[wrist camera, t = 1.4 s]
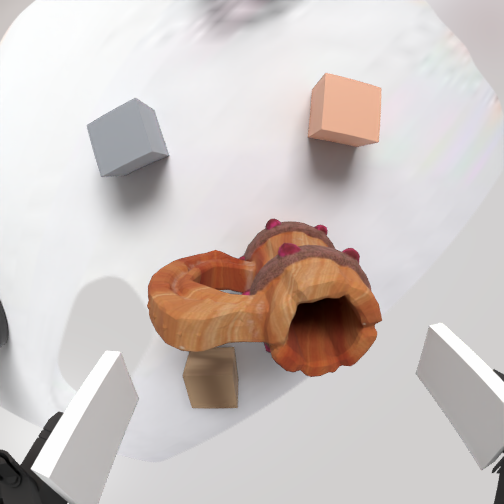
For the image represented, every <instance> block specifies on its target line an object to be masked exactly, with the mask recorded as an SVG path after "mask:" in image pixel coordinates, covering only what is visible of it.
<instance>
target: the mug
mask: <svg viewBox="0 0 504 504" xmlns="http://www.w3.org/2000/svg"><path fill="white" fill-rule="evenodd" d="M326 235H327V228H326V227H325V226H323V225H317V226H315V227H312V226H309V225H307V224H304V223H300V222H280V221H278V220H277V219H270V220H269V221H268V222H267V224H266V228H265V229H264V230H262V231H261V232H259V233H258V234H257V235H256V237H255V238H254V239H253V240H252V242H251V243H250V244H249V245H248V247H247V249H246V252H245V254H244V256H242V257H240V258H239V259H237V258H234V257H232V256H230V255H227V254H225V253H223V252H220V251H217V250H214V251H211V252H208V253H203V254H198V255H194V256H189V257H185V258H181V259H178V260H176V261H173V262H171V263H170V264H168V265H166V266H164V267H163V268H161V269H160V270H159V271H158V272H157V273H155V274H154V275H153V276H152V278H151V280H150V283H149V285H148V298H149V301H148V305H147V307H148V309H149V316H150V319H151V321H152V324H153V326H154V328H155V330H156V331H157V333H158V334H159V335H160V337H161V338H162V339H163V340H164V341H165V343H167V344H169V345H171V346H173V347H175V348H177V349H179V350H181V351H193V352H199V351H205V350H208V349H211V348H214V347H217V346H220V345H223V344H226V343H232V342H264V345H265V348H266V351H268V352H270V353H271V355H272V358H273V359H274V360H275V362H276V363H277V364H279V365H280V366H281V367H282V368H284V369H285V370H286V371H290V372H296V371H299V370H301V371H302V372H303V373H304V374H305V375H307V376H310V377H314V376H321V375H323V374H326V373H328V372H332V373H333V372H335V371H336V370H337V369H338V367H339V366H342V365H344V366H352V365H353V364H355V363H356V362H357V361H358V360H359V359H360V358H361V357H362V356H363V355H364V354H365V353H366V352H367V351H368V349H369V348H370V347H371V345H372V344H373V343H374V341H375V340H376V337H377V331H376V329H375V324H376V323H378V322H380V321H382V318H381V313H380V308H379V304H378V302H377V301H376V299H375V297H374V295H373V293H372V292H371V286H370V283H369V281H368V278H367V276H366V274H365V273H364V272H363V270H362V269H361V267H360V265H359V258H360V256H359V253H358V252H357V251H356V250H354V249H353V248H348V249H345V250H344V251H342V252H341V251H338V250H336V249H335V247H334V245H333V243H332V242H331V241H330V240H329V238H328V237H327V236H326ZM219 290H232V291H236V292H241V293H242V295H237V294H229V293H225V292H222V291H219Z"/></svg>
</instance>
